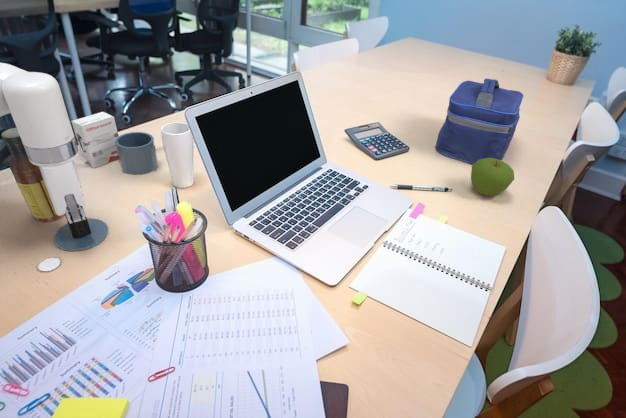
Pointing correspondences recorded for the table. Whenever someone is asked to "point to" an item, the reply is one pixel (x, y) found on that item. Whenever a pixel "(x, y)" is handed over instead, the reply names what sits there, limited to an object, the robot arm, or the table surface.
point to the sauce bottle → (29, 179)
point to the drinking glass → (179, 153)
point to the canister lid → (69, 243)
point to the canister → (136, 153)
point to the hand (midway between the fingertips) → (80, 229)
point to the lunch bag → (479, 121)
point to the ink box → (96, 138)
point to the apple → (491, 176)
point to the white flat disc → (49, 264)
